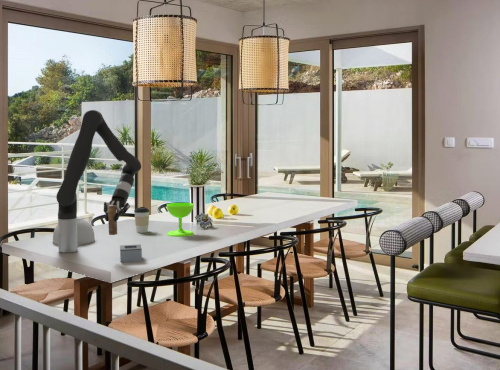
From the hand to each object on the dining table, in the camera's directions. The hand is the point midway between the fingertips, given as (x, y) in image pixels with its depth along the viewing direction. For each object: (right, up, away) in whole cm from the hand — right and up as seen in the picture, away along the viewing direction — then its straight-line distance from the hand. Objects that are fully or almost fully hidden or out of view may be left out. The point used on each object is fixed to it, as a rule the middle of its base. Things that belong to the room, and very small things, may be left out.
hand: (110, 220), depth 274 cm
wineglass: (+26, -13, +67) cm, 72 cm away
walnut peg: (+1, -7, +3) cm, 7 cm away
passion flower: (+38, -10, +89) cm, 97 cm away
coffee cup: (+1, -12, +74) cm, 75 cm away
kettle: (-32, -15, +47) cm, 59 cm away
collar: (+9, -19, +3) cm, 21 cm away
